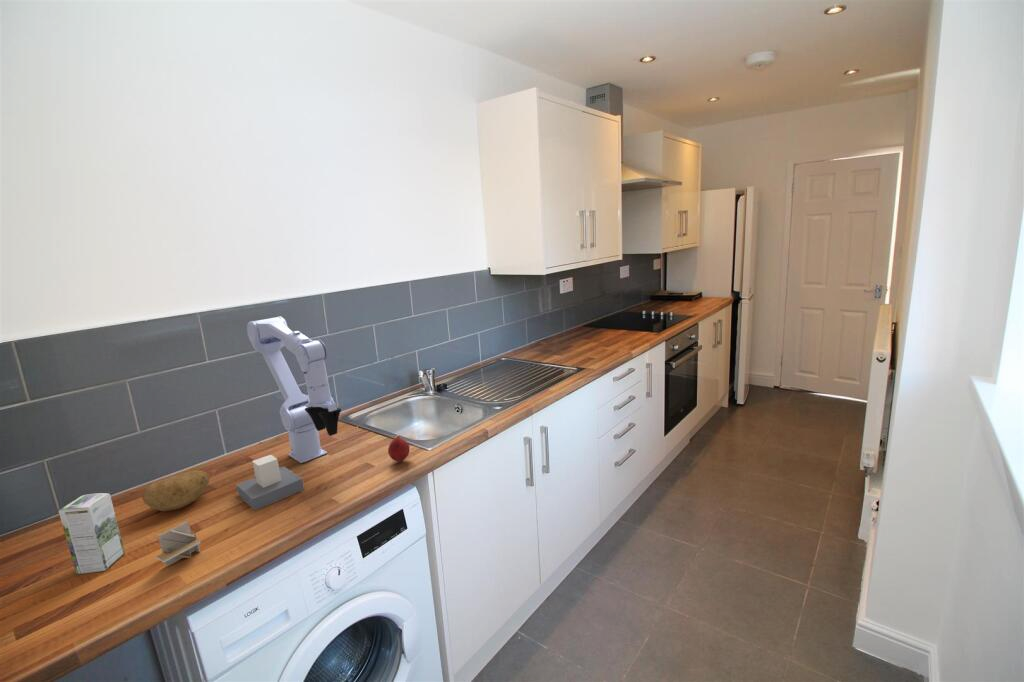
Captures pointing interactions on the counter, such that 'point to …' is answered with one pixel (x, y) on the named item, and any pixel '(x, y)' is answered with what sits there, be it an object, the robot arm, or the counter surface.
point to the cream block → (267, 470)
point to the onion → (398, 449)
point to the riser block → (269, 489)
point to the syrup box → (92, 533)
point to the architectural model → (177, 544)
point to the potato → (176, 491)
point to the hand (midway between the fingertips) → (327, 432)
